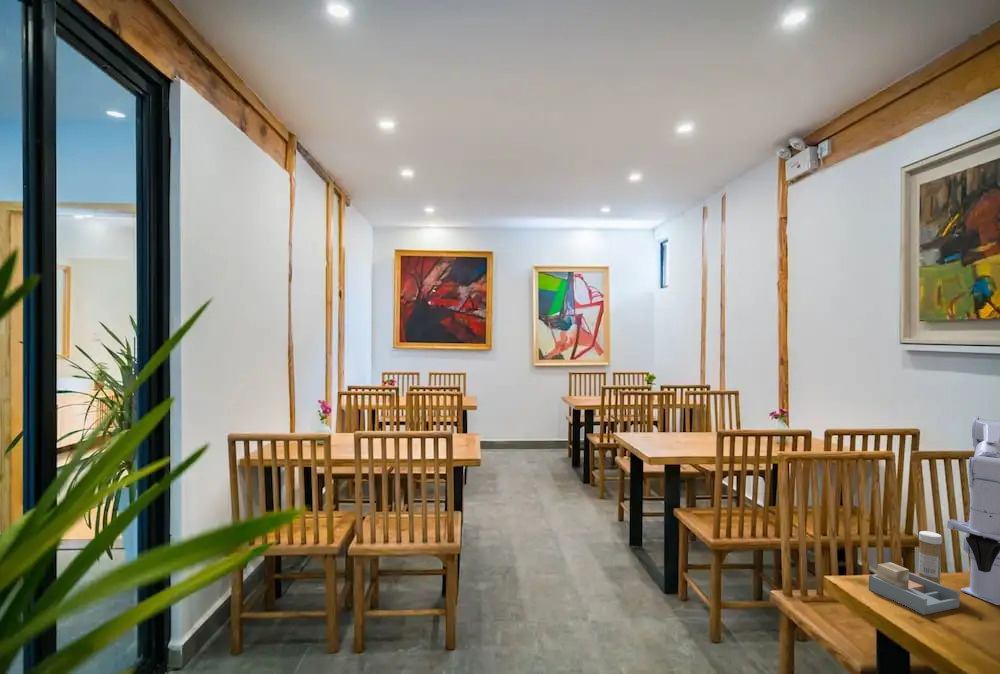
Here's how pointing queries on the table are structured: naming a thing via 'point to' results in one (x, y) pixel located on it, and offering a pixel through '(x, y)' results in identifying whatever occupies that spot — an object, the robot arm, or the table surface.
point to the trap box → (917, 594)
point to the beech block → (893, 574)
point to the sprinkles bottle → (930, 556)
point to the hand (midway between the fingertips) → (984, 570)
